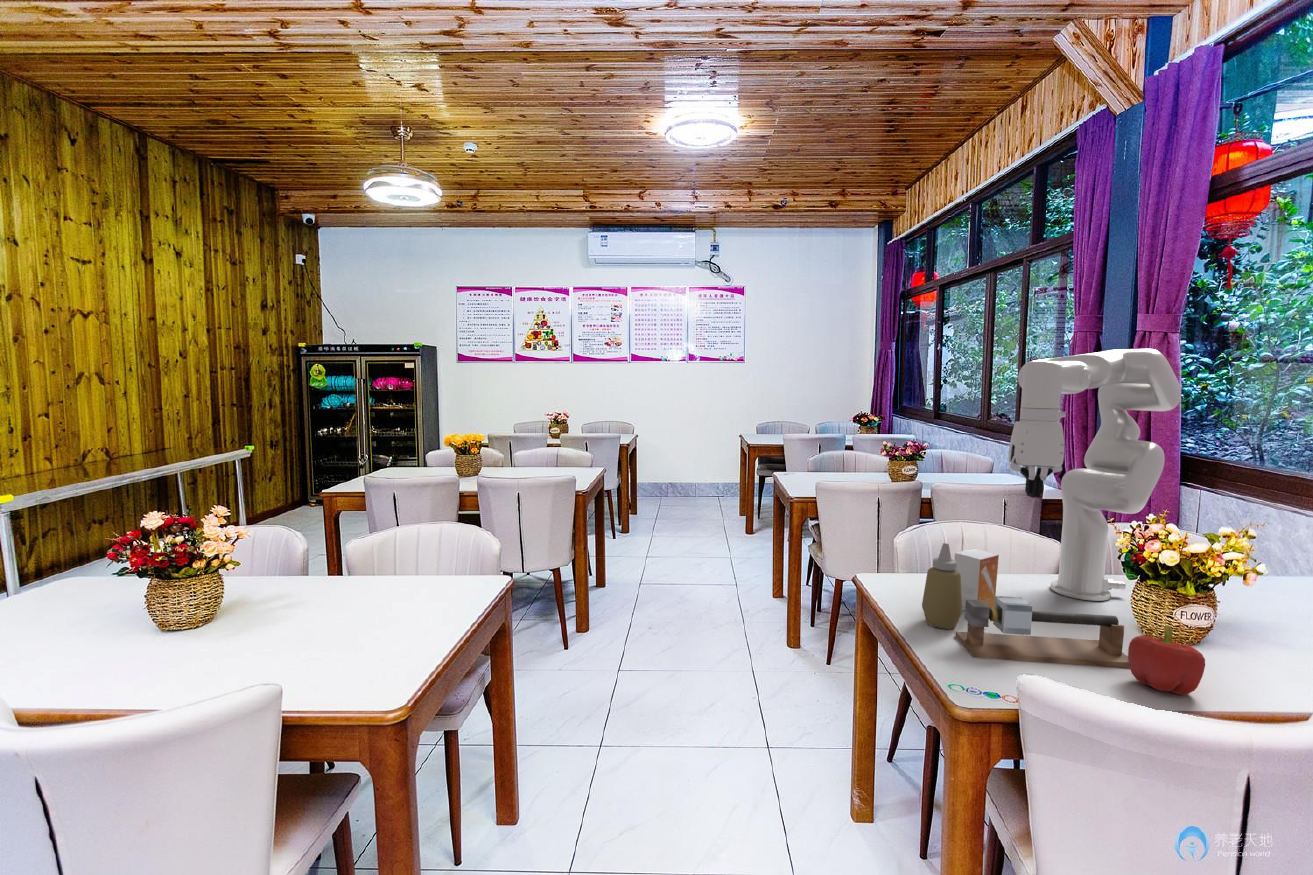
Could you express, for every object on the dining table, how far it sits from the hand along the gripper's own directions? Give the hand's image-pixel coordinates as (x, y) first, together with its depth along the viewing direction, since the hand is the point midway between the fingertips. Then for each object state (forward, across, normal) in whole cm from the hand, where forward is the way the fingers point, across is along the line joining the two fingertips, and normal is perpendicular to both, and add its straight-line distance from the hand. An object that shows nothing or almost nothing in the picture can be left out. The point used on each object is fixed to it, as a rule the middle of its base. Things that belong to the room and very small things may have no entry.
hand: (1033, 496), depth 141 cm
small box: (+27, +11, -1) cm, 30 cm away
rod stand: (+27, +6, +22) cm, 36 cm away
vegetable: (+27, -8, +34) cm, 44 cm away
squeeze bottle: (+27, +22, +11) cm, 37 cm away
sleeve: (+23, +12, +22) cm, 34 cm away
